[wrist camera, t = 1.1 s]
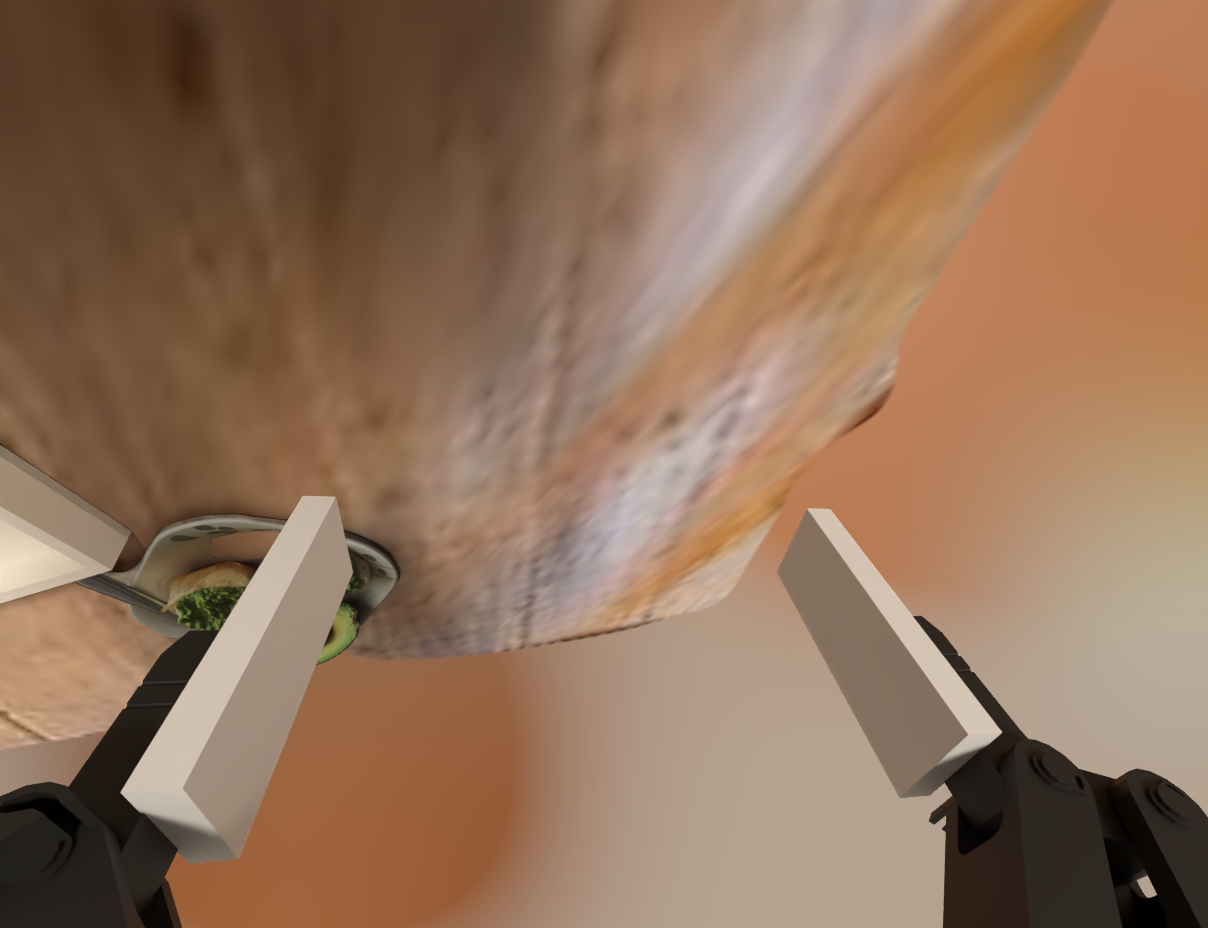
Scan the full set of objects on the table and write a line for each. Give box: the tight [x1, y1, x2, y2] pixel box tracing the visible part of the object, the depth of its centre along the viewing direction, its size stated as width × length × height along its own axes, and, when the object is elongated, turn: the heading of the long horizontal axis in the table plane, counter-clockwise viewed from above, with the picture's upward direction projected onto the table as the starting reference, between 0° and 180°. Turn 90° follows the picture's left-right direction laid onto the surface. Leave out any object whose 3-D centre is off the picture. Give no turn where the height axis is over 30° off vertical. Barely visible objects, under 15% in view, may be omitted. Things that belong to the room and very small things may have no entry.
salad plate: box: [74, 514, 400, 665], centre depth 37 cm, size 19×18×5 cm
